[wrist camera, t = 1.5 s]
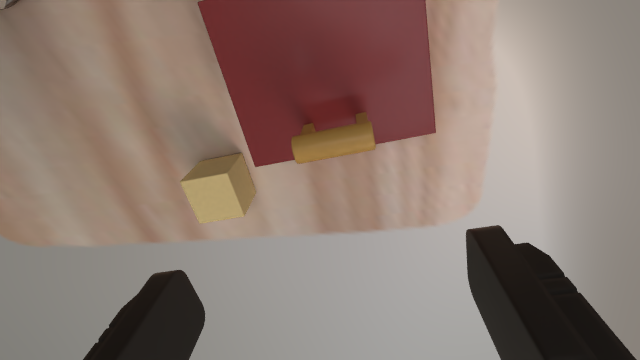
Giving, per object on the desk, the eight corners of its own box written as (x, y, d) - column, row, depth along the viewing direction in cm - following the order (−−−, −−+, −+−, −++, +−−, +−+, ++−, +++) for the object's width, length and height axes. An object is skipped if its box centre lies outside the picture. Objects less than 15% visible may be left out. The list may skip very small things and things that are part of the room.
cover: (433, 129, 22) (456, 160, 17) (257, 163, 24) (236, 198, 20) (417, -60, 17) (443, -85, 13) (201, 2, 19) (157, -1, 15)
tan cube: (216, 199, 32) (199, 224, 28) (199, 161, 30) (179, 181, 27) (256, 192, 31) (244, 216, 28) (241, 152, 30) (227, 172, 26)
